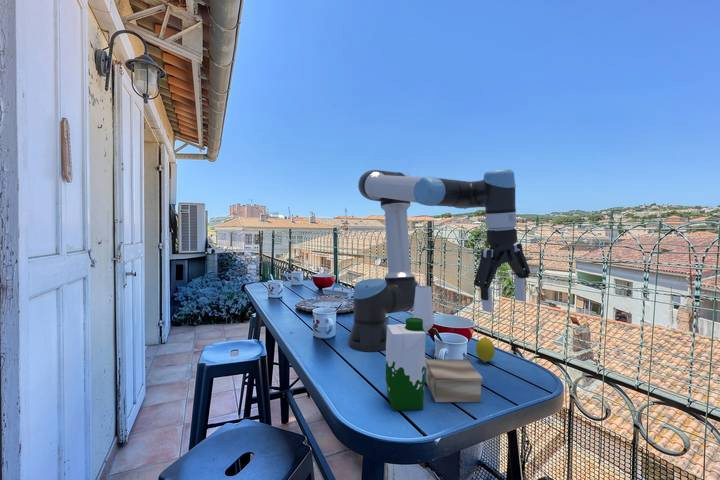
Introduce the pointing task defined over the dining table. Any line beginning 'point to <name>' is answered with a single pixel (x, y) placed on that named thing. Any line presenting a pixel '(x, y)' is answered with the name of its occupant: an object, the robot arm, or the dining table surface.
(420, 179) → the robot arm
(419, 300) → the champagne flute
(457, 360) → the oak riser
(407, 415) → the dining table surface
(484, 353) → the lemon
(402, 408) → the fresh milk carton
